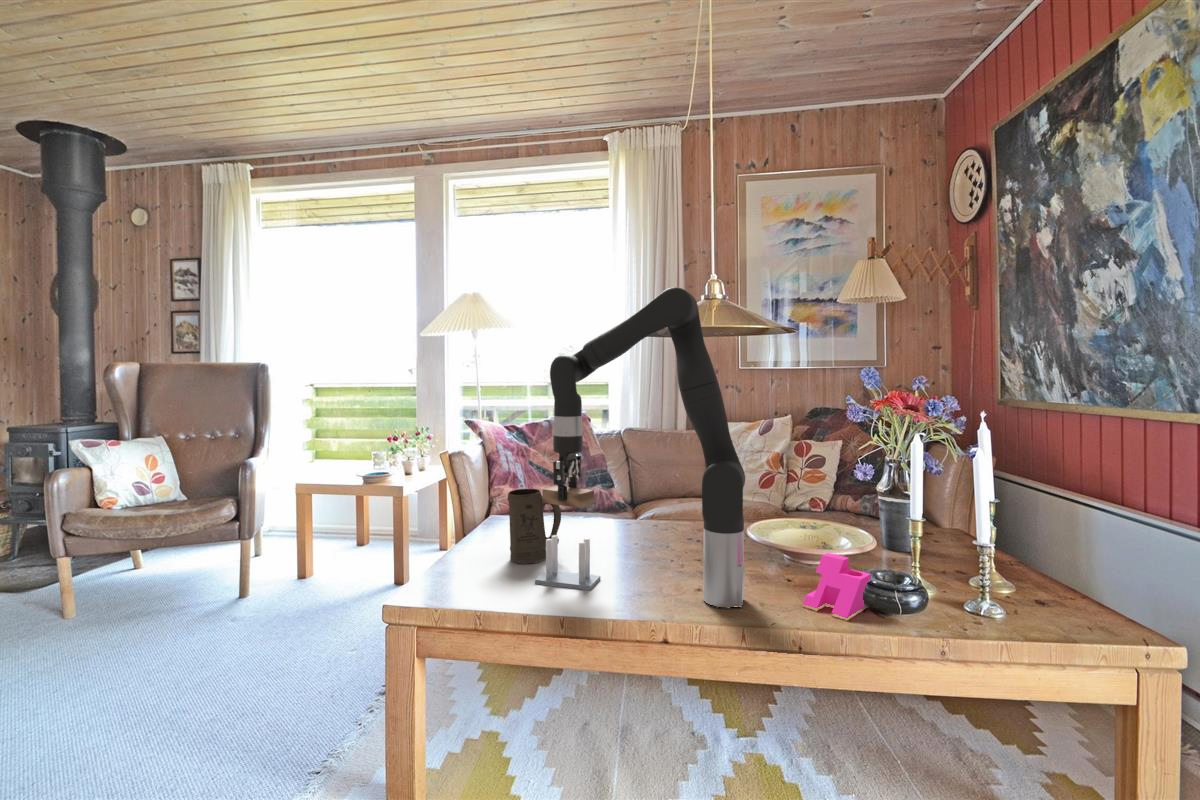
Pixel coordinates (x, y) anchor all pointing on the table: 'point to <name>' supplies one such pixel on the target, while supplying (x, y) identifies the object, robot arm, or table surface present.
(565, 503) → the brown wooden block
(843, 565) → the pink dog planter
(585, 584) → the peg stand
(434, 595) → the table surface
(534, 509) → the beer stein
